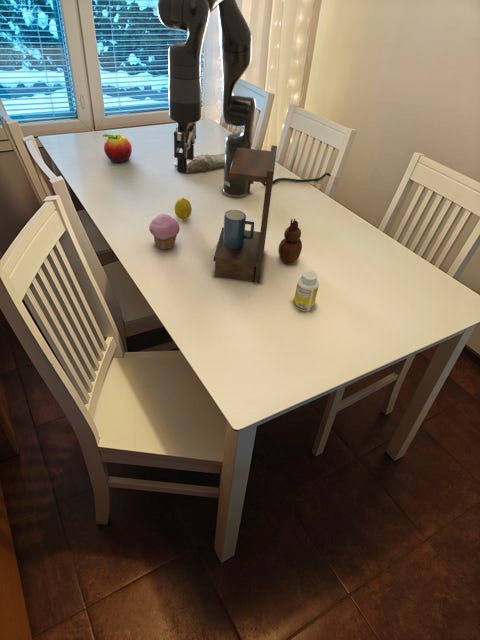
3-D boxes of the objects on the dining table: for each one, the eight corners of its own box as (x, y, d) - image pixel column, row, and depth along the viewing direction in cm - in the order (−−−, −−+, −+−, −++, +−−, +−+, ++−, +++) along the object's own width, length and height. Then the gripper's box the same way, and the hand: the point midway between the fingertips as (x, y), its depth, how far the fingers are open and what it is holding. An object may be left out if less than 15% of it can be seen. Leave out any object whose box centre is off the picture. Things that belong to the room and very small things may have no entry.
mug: (221, 247, 124) (222, 219, 118) (224, 236, 129) (225, 208, 122) (251, 251, 124) (254, 223, 118) (253, 240, 128) (255, 212, 122)
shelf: (212, 277, 125) (216, 164, 103) (220, 246, 137) (226, 140, 115) (259, 283, 125) (273, 171, 102) (263, 252, 137) (277, 145, 114)
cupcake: (168, 235, 140) (167, 207, 133) (185, 247, 135) (185, 218, 129) (145, 245, 135) (142, 216, 128) (162, 257, 130) (160, 228, 124)
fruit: (129, 166, 175) (127, 140, 168) (102, 164, 175) (98, 138, 168) (135, 155, 183) (132, 130, 176) (109, 153, 182) (105, 128, 176)
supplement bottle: (309, 297, 122) (316, 267, 115) (316, 310, 118) (324, 280, 111) (290, 299, 120) (296, 269, 113) (297, 313, 116) (303, 282, 109)
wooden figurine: (283, 268, 131) (291, 223, 121) (273, 257, 135) (280, 213, 124) (302, 263, 133) (311, 219, 123) (292, 253, 137) (300, 209, 127)
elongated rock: (257, 167, 185) (245, 159, 192) (258, 154, 182) (246, 147, 189) (180, 175, 170) (170, 166, 177) (180, 161, 167) (170, 153, 174)
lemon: (188, 225, 145) (188, 203, 140) (172, 222, 146) (172, 200, 140) (193, 217, 149) (193, 195, 144) (178, 214, 150) (177, 192, 144)
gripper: (195, 108, 96) (194, 178, 107) (206, 90, 107) (205, 156, 117) (161, 104, 96) (164, 175, 107) (176, 87, 107) (177, 153, 118)
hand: (185, 165), depth 112 cm, fingers open, 8 cm apart
